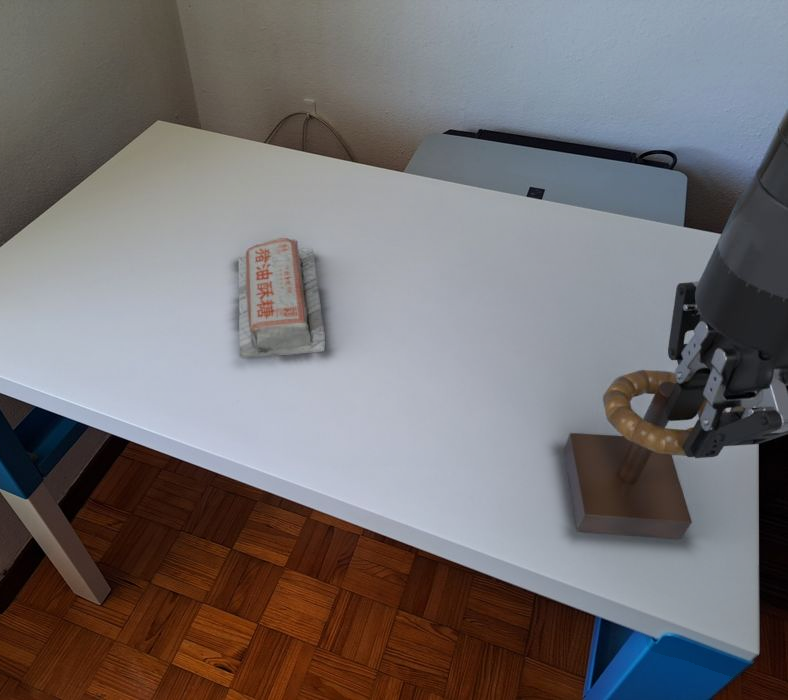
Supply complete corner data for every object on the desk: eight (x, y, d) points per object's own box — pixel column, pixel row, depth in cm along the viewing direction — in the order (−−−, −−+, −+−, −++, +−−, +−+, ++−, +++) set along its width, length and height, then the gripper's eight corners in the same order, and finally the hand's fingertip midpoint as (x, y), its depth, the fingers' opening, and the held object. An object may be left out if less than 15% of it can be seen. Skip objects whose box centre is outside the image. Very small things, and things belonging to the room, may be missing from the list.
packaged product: (325, 323, 75) (235, 332, 75) (327, 353, 79) (240, 362, 78) (312, 226, 88) (234, 233, 87) (313, 256, 91) (239, 263, 91)
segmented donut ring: (706, 387, 59) (713, 369, 58) (739, 466, 52) (747, 447, 51) (594, 380, 61) (599, 362, 59) (611, 455, 53) (616, 436, 52)
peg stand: (657, 456, 67) (714, 351, 57) (680, 539, 61) (750, 439, 50) (563, 450, 68) (602, 346, 57) (577, 532, 62) (623, 431, 51)
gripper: (936, 335, 35) (783, 512, 47) (790, 183, 44) (696, 363, 57) (790, 344, 35) (675, 519, 47) (676, 190, 44) (606, 369, 57)
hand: (687, 433), depth 52 cm, fingers open, 3 cm apart
